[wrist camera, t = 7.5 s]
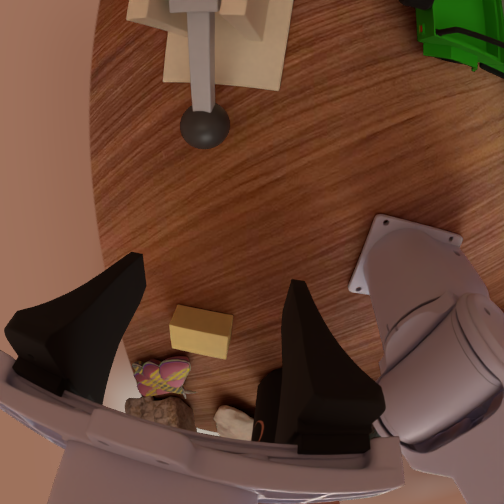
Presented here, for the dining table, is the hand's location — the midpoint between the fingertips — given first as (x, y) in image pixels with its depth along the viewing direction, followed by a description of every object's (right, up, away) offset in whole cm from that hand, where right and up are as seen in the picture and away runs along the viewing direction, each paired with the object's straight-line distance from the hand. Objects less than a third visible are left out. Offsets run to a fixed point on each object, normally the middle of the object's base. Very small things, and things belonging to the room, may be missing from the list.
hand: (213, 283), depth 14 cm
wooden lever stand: (0, +18, +1) cm, 18 cm away
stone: (-22, -31, +28) cm, 48 cm away
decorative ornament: (-15, -14, +23) cm, 31 cm away
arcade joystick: (0, +12, -1) cm, 12 cm away
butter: (-3, -6, +17) cm, 19 cm away
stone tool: (+2, -31, +34) cm, 46 cm away
